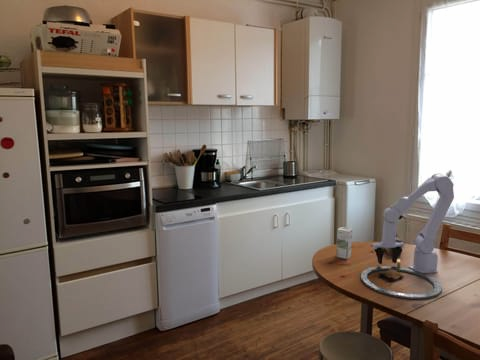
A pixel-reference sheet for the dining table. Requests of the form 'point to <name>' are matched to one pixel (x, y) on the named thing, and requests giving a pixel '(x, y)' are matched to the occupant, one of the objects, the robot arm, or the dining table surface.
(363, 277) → the turntable ring
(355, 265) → the dining table surface
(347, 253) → the syrup box
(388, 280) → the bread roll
